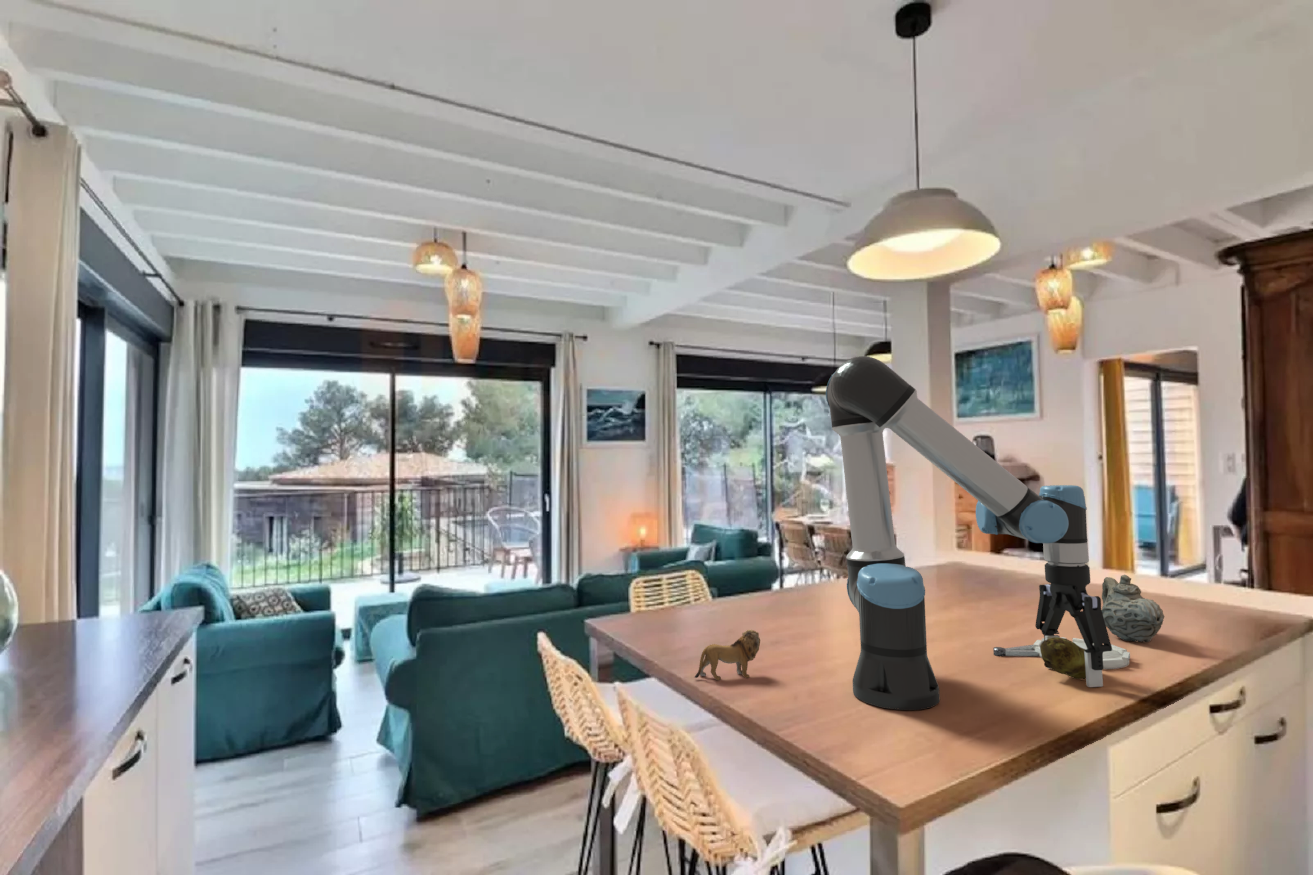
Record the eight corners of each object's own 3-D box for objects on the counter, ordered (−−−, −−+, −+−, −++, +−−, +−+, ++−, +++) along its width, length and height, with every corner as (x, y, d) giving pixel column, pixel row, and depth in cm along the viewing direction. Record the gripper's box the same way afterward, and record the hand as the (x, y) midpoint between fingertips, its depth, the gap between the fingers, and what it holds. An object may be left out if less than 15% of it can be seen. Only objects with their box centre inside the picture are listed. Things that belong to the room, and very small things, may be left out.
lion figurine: (755, 668, 135) (753, 626, 135) (766, 676, 130) (764, 632, 130) (690, 676, 131) (689, 632, 132) (699, 684, 126) (697, 639, 126)
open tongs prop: (1007, 661, 135) (1007, 654, 135) (982, 649, 144) (982, 643, 144) (1078, 657, 136) (1078, 651, 136) (1049, 645, 145) (1048, 639, 145)
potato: (1120, 682, 121) (1117, 640, 121) (1058, 687, 119) (1056, 644, 119) (1086, 669, 129) (1083, 629, 129) (1028, 673, 127) (1025, 633, 128)
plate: (1072, 671, 128) (1071, 662, 128) (1018, 647, 144) (1017, 639, 145) (1150, 667, 129) (1150, 658, 129) (1088, 643, 146) (1087, 636, 146)
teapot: (1187, 652, 138) (1183, 583, 138) (1129, 651, 140) (1125, 582, 140) (1130, 627, 159) (1126, 567, 159) (1080, 626, 161) (1077, 567, 161)
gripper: (1131, 571, 114) (1139, 696, 113) (1045, 554, 137) (1051, 658, 136) (1092, 573, 113) (1100, 698, 112) (1012, 556, 136) (1018, 660, 135)
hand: (1073, 676), depth 124 cm, fingers open, 10 cm apart
